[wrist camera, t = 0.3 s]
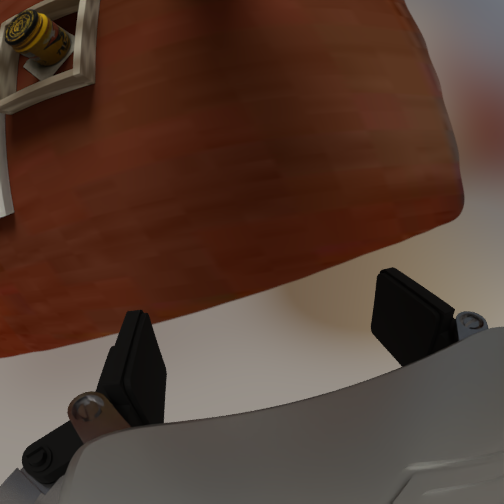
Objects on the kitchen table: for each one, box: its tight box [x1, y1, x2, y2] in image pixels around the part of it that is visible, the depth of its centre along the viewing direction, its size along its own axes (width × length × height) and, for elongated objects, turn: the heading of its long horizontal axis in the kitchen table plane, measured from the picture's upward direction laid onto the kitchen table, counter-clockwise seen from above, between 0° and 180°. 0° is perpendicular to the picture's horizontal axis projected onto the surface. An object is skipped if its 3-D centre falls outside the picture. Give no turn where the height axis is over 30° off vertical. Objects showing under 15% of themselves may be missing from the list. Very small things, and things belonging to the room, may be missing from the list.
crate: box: [0, 0, 100, 115], centre depth 24 cm, size 16×16×6 cm
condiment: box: [5, 9, 75, 81], centre depth 21 cm, size 7×8×12 cm
